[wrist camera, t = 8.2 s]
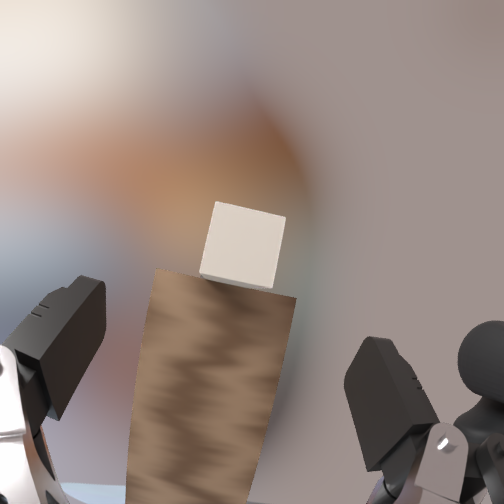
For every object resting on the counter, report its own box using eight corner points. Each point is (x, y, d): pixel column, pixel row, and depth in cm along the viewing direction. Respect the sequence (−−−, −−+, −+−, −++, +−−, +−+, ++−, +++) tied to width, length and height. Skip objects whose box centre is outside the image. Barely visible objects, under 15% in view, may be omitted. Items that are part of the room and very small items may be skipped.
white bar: (244, 289, 31) (251, 254, 32) (288, 291, 13) (304, 207, 13) (201, 280, 31) (209, 245, 32) (182, 268, 12) (202, 184, 13)
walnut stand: (216, 519, 29) (267, 294, 34) (220, 580, 17) (296, 297, 22) (142, 506, 28) (176, 275, 33) (125, 563, 17) (156, 267, 21)
